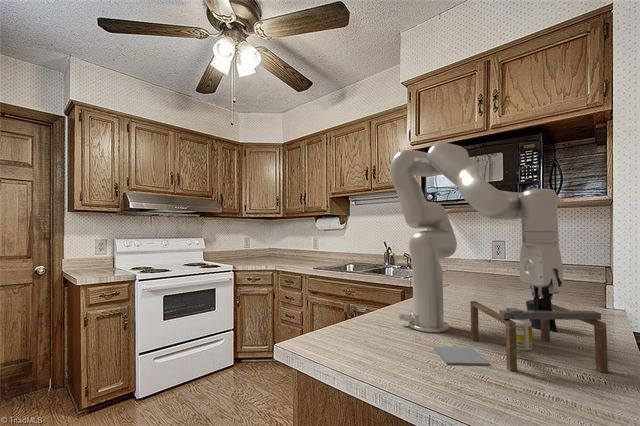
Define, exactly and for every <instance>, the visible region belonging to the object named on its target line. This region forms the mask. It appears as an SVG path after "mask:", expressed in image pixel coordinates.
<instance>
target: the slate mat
mask: <svg viewBox="0 0 640 426" xmlns="http://www.w3.org/2000/svg"><path fill="white" fill-rule="evenodd" d="M433 349H434V350H435V352H436V353H437V355H438V356H440V358H441V360H442V361H444V363H445V364H446V365H447V366H449V365H450V366H453V365H455V366H456V365H458V366H462V365H464V366H490V364H491V363H490V362H489V361H488V360H487V359H485V358H484V357H483V356H482V355H481V354H480V353H479V352H478V351H477V350H475V349H474V348H473V347H472V346H469V347H468V346H434V347H433Z"/></svg>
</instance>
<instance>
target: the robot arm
mask: <svg viewBox="0 0 640 426" xmlns="http://www.w3.org/2000/svg"><path fill="white" fill-rule="evenodd" d="M480 173H481V165H480V164H479V163H477V162H476V161H474V160H473V159H472V158H470V155H469V153H468V151H467V149H466V148H464V147H463V146H461V145H459V144H458V145H457V144H453V143H449V142H437V143H434V144H433V145H432V146H430V148H429V149H428V151H427V152H424V151H421V150H420V151H419V150H414V149H403V150H400V151H399V152H397V153H396V154H395V155H394V156H393V158H392V161H391V164H390V168H389V175H390V180H391V182H392V185H393V187H394V190H395V191H396V192H395V193H396V194H397V197H398V201H399V204H400V207H401V210H402V214H403V217H404V220H405V222H406V224H407V225H408V227H410V228H412V229H419V231H417V232H415V233H414V234H413V235H412V236H411V237H410V238H409V242H408V244H409V245H408V250H409V254H410V259H411V269H412V307H413V308H412V310H410V312H408V313H399V314H398V320H403V321H404V322H408V326H409V327H410V328H412V329H414V330H417V331H420V332H425V333H443V332H447V331H449V330H450V325H449V323H448V322H446V321H444V320H445V318H444V316H445V315H444V314H445V313H444V310H445V309H444V273H443V268H442V265H441V262H440V259H443V258H444V259H445V258H450V257H451V256H453V255H454V254H455V253H456V250H457V248H458V247H457V246H458V245H457V244H458V243H457V238H456V235H455V232H454V229H453V226H452V224H451V220H450V218H449V216H448V213H447V211H446V209H445V208H444V206H443V205H441V204H440V203H438V202H436V201H435V202H434V201H427V199H426V197H425V194H424V192H423V189H422V186H421V184H420V183H419V182H418V180H417V179H416V178H415V176H419V177H425V178H427V177H436V176H441V175H442V176H444V177H445V178H446V179H448V180H449V181H450V182H451V183H452V184H454V186H456V187H457V190H458V191H459V192H458V193H460V196H461V197H462V198H463V200H464V201H465V202H466V203H468V204H469V205H470V206H471V207H472V208H473V209H474V210H475V211H476V212H478V213H480V214H481V215H482V216H484V217H486V218H488V219H492V220H504V221H505V220H507V221H509V220H511V221H513V220H520V223H521V225H520V226H521V246H520V253H519V281H521V282H523V283H524V284H525V285H526V286H527V287H528V288H530V289H531V295H532V297H533V300H534V311H552V310H551V303H552V299H553V298H554V297H553V295H554V294H560V291H561V290H560V288H561V287H562V286H563V283H564V272H563V271H564V270H563V261H562V255H561V250H560V246H559V245H560V242H559V241H560V239H559V217H558V216H559V214H558V196H557V195H558V194H557V193H556V191H555V190H554V189H552V188H531V189H526V190H525V191H522V192H517V191H516V192H515V191H507V190H499V189H497V188H496V187H495V186H493V185H492V184H490V182H488V181H487V180H486V179H484V178H483V177H482V176H481V175H480ZM420 229H423V230H420ZM425 229H426V230H425Z"/></svg>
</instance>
